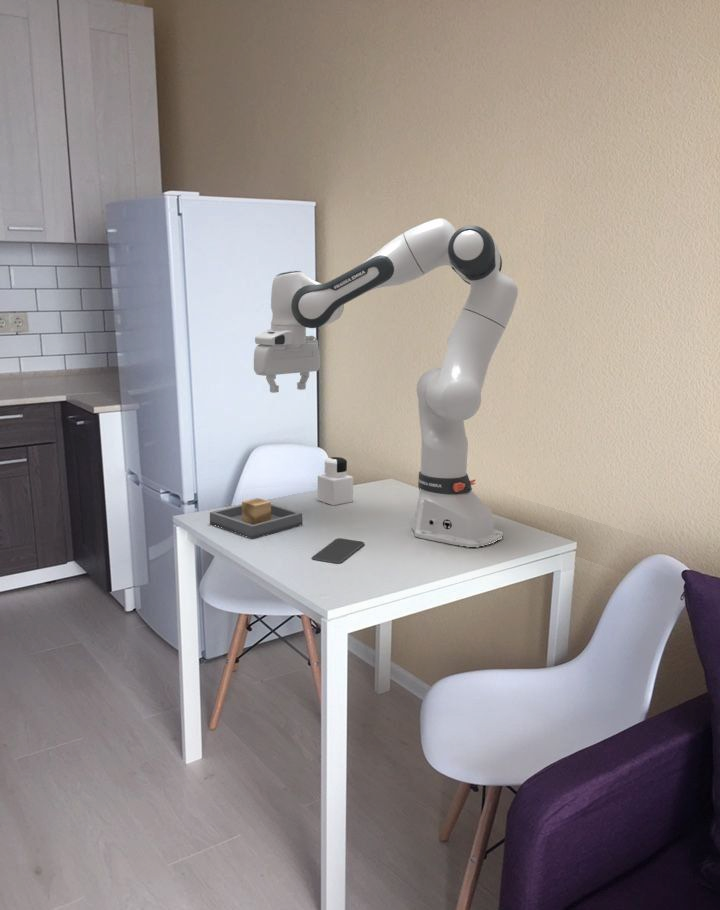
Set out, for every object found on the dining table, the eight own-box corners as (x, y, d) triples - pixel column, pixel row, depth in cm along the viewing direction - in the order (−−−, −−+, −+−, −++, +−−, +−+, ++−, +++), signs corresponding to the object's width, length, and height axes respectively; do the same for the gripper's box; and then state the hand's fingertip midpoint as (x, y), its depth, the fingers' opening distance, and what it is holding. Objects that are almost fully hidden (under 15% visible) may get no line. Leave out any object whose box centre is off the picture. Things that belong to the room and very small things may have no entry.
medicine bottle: (337, 496, 227) (338, 454, 224) (353, 501, 221) (354, 459, 219) (316, 500, 222) (317, 457, 220) (332, 505, 217) (333, 462, 214)
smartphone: (309, 558, 175) (336, 537, 188) (309, 562, 175) (336, 541, 188) (340, 562, 172) (366, 541, 186) (340, 567, 172) (366, 545, 186)
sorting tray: (302, 525, 199) (302, 513, 198) (252, 539, 187) (252, 526, 187) (259, 511, 210) (259, 500, 209) (209, 524, 198) (209, 512, 197)
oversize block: (270, 521, 198) (270, 502, 197) (255, 525, 195) (255, 505, 194) (257, 517, 202) (257, 498, 201) (242, 521, 198) (241, 501, 197)
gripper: (309, 334, 214) (308, 386, 217) (249, 337, 199) (249, 392, 202) (326, 336, 210) (325, 389, 213) (266, 338, 195) (266, 395, 198)
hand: (288, 390), depth 207 cm, fingers open, 8 cm apart
